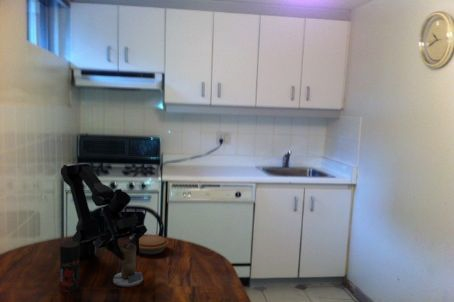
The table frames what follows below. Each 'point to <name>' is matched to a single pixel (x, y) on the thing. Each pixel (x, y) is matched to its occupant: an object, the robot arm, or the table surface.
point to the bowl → (131, 281)
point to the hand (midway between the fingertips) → (131, 257)
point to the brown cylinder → (128, 260)
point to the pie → (152, 244)
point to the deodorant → (69, 266)
